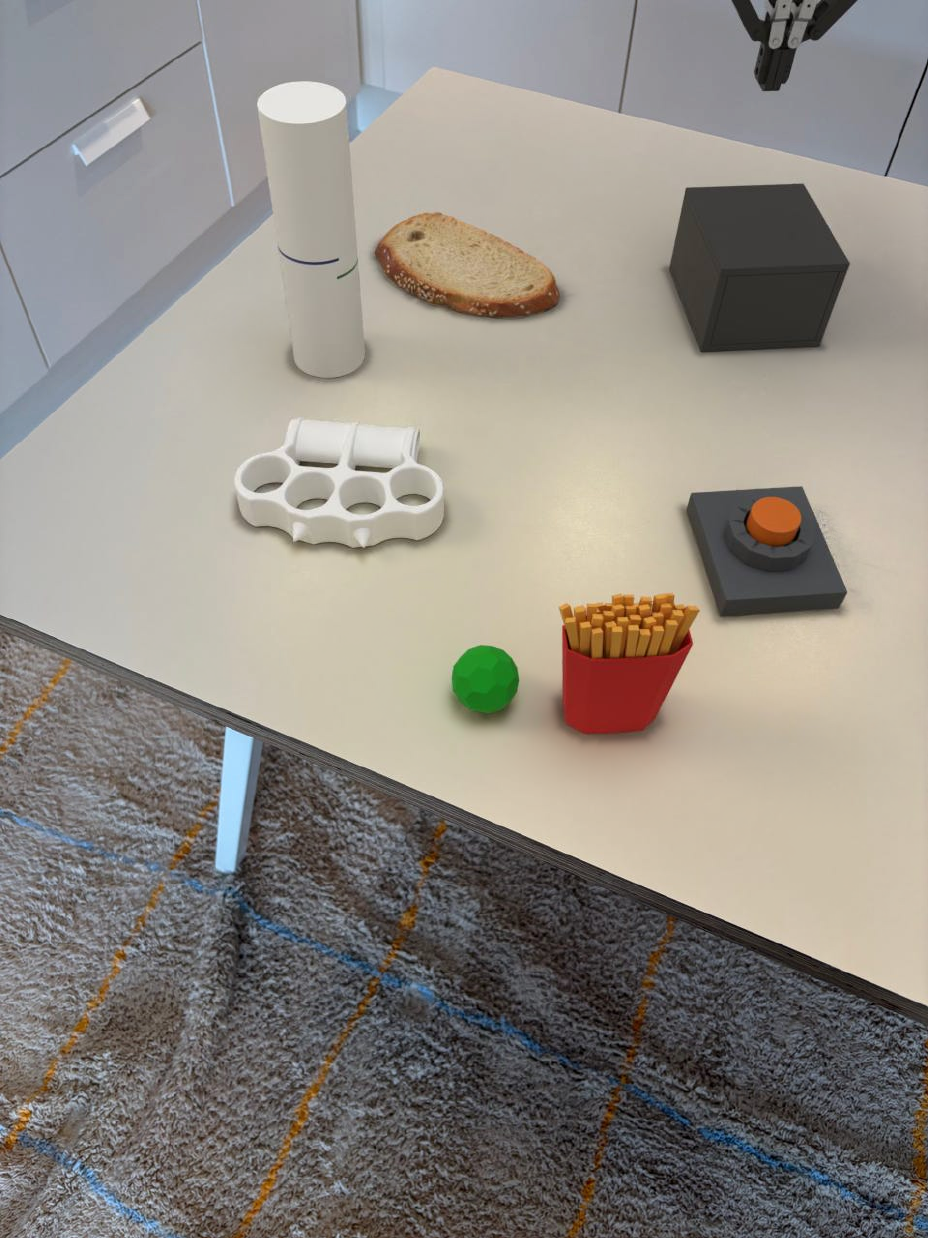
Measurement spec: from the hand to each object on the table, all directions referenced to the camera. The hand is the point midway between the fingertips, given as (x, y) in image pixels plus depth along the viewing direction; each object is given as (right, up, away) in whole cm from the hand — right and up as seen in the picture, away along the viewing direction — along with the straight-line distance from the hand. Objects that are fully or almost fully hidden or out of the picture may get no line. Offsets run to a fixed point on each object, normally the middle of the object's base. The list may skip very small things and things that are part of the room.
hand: (768, 86), depth 90 cm
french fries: (-17, -55, -15) cm, 60 cm away
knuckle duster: (-38, -38, -2) cm, 54 cm away
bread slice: (-28, -11, +19) cm, 35 cm away
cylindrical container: (-41, -22, +10) cm, 48 cm away
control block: (-2, -43, -6) cm, 44 cm away
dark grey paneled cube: (+2, -15, +16) cm, 22 cm away
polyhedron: (-26, -54, -15) cm, 62 cm away
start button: (-2, -41, -9) cm, 42 cm away
